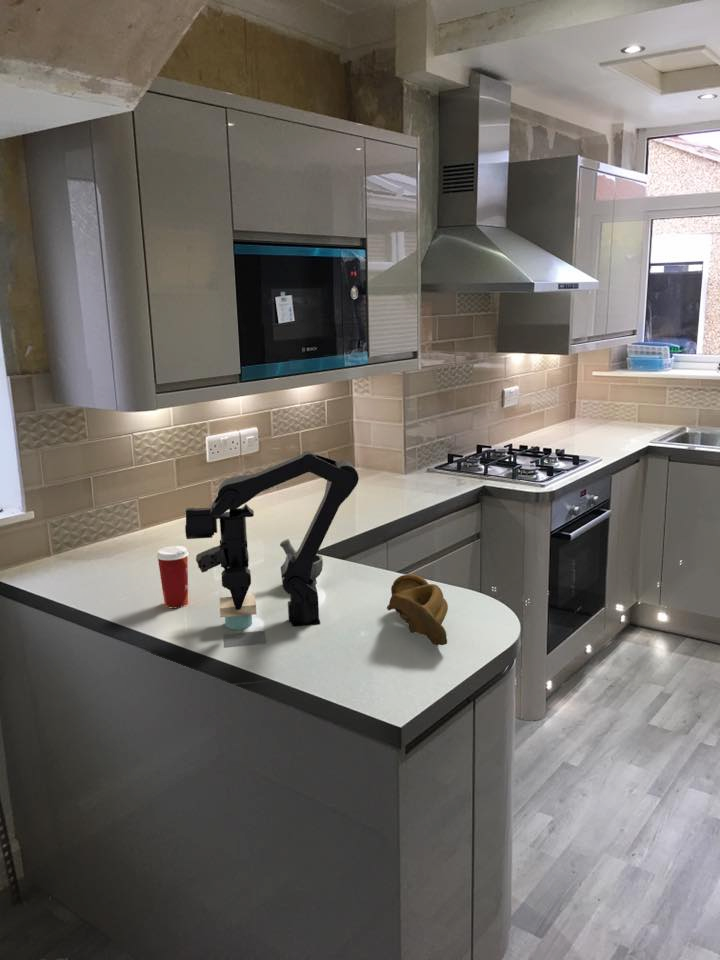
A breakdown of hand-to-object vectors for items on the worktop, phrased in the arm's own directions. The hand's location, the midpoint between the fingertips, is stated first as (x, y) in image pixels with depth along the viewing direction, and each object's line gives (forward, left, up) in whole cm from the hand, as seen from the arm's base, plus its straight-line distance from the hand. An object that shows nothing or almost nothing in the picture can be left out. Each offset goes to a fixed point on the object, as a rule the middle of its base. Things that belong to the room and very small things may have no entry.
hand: (237, 601), depth 177 cm
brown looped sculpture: (-39, +11, -6) cm, 41 cm away
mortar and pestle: (-17, -24, -6) cm, 30 cm away
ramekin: (0, 0, -6) cm, 6 cm away
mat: (-1, +8, -6) cm, 10 cm away
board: (0, 0, -2) cm, 2 cm away
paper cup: (+15, -17, -6) cm, 24 cm away
